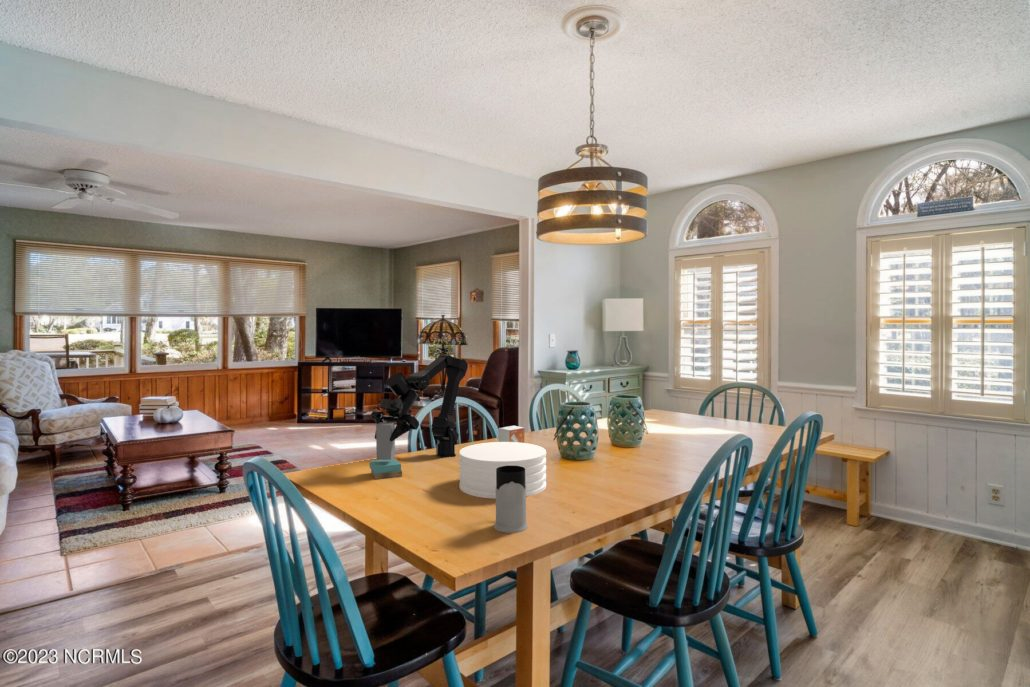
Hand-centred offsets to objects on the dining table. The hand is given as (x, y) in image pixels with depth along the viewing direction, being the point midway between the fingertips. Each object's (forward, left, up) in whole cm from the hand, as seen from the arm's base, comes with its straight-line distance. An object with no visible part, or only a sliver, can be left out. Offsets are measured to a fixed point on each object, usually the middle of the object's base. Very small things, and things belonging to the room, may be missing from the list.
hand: (382, 439), depth 197 cm
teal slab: (-1, -1, -11) cm, 11 cm away
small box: (-48, -1, -13) cm, 50 cm away
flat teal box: (-1, -1, -13) cm, 13 cm away
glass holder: (-23, +60, -13) cm, 66 cm away
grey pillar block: (-1, -1, -7) cm, 7 cm away
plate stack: (-34, +27, -13) cm, 45 cm away
